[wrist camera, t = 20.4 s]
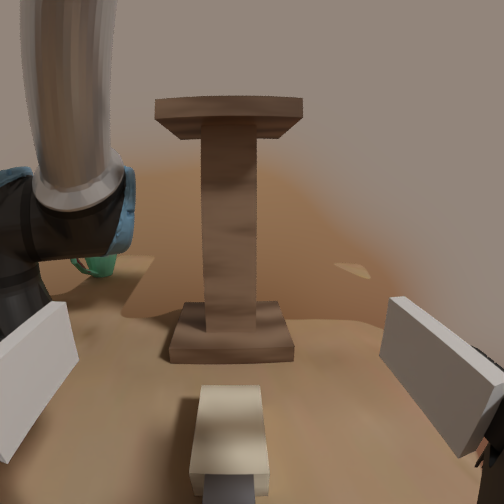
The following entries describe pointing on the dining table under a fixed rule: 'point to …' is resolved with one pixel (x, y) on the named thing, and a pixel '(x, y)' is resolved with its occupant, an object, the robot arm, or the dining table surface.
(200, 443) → the bar
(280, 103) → the stand
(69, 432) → the dining table surface
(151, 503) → the dining table surface
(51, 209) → the robot arm
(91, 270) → the mug
